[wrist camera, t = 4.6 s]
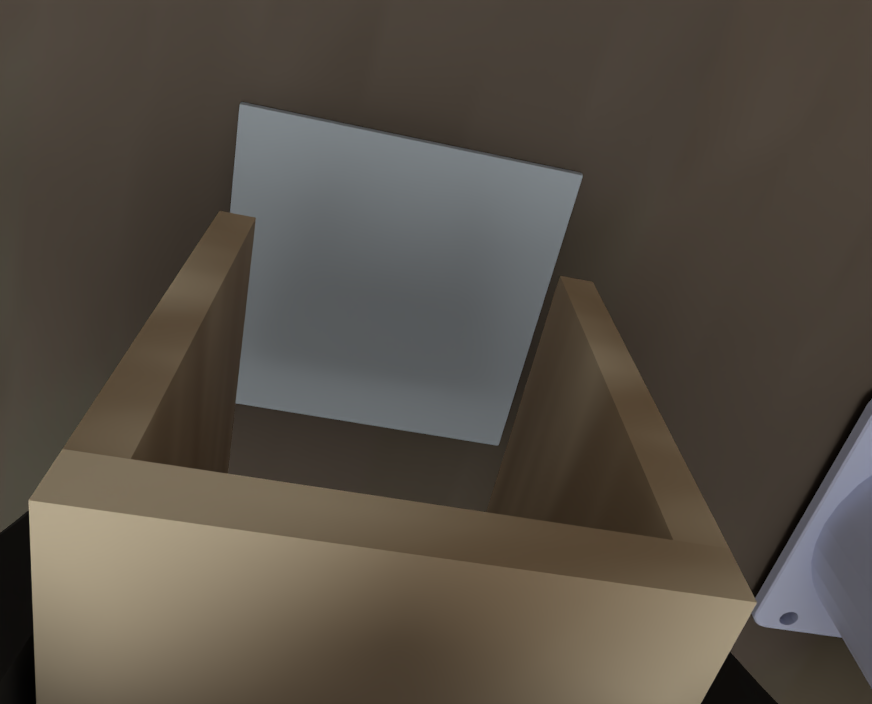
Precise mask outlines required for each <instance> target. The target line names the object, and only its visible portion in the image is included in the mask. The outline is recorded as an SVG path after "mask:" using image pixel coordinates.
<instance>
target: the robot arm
mask: <svg viewBox="0 0 872 704" xmlns="http://www.w3.org/2000/svg"><path fill="white" fill-rule="evenodd" d="M755 599H756V601H757V604H756V606H755V607H754V609H753V611H752V613H751V614H752V616H753V618H754V620H755V622H756V623H757V624H758V625H760V626H763V627H768V628H776V629H783V630H790V631H797V632H805V633H812V634H819V635H826V636H834V637H841V638H843V640H844V642H845V644H846V645H847V647H848V649H849V650H850V652H851V654H852V656H853V657H854V659H855V661H856V662H857V664H858V666H859V668H860V669H861V671H862V673H863V675H864V676H865V678H866V680H867V681H868V683H869V685H870V687H871V688H872V399H871V400H870V402H869V403H868V404H867V406H866V408H865V409H864V411H863V413H862V414H861V416H860V418H859V420H858V421H857V423H856V425H855V427H854V428H853V430H852V432H851V433H850V435H849V437H848V439H847V440H846V442H845V444H844V446H843V447H842V449H841V451H840V452H839V454H838V456H837V458H836V459H835V461H834V463H833V465H832V466H831V468H830V470H829V471H828V473H827V475H826V477H825V478H824V480H823V482H822V484H821V485H820V487H819V489H818V490H817V492H816V494H815V496H814V497H813V499H812V501H811V503H810V504H809V506H808V508H807V509H806V511H805V513H804V515H803V516H802V518H801V520H800V522H799V523H798V525H797V527H796V528H795V530H794V532H793V534H792V535H791V537H790V539H789V541H788V542H787V544H786V546H785V547H784V549H783V551H782V553H781V554H780V556H779V558H778V560H777V561H776V563H775V565H774V566H773V568H772V570H771V572H770V573H769V575H768V577H767V579H766V580H765V582H764V584H763V585H762V587H761V589H760V591H759V592H758V594H757V596H756V598H755ZM0 704H36V683H35V657H34V630H33V604H32V577H31V551H30V524H29V511H27V512H26V513H25V514H24V515H22V516H21V517H20V518H19V519H17V520H16V521H15V522H14V523H12V524H11V525H10V526H8V527H7V528H6V529H5V530H3V531H2V532H1V533H0ZM701 704H778V703H777V702H776V701H775V700H774V699H773V698H772V697H771V696H770V695H769V694H768V693H767V692H766V691H765V690H764V689H763V688H762V687H761V686H760V685H759V683H758V682H757V681H756V680H755V679H754V678H753V677H752V676H751V675H750V674H749V672H748V671H747V670H746V669H745V668H744V667H743V666H742V665H741V664H740V662H739V661H738V660H737V659H736V658H735V657H734V656H733V655H732V654H731V652H729V654H728V656H727V658H726V659H725V661H724V663H723V665H722V667H721V668H720V670H719V672H718V674H717V675H716V677H715V679H714V681H713V683H712V684H711V686H710V688H709V690H708V692H707V693H706V695H705V697H704V699H703V701H702V702H701Z"/></svg>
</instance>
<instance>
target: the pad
mask: <svg viewBox="0 0 872 704" xmlns="http://www.w3.org/2000/svg"><path fill="white" fill-rule="evenodd" d="M582 177H583V175H582V173H580V172H576V171H571V170H566V169H561V168H556V167H552V166H547V165H542V164H537V163H532V162H528V161H523V160H518V159H513V158H509V157H504V156H499V155H494V154H489V153H485V152H480V151H475V150H470V149H465V148H461V147H456V146H451V145H446V144H442V143H437V142H432V141H427V140H422V139H418V138H413V137H408V136H403V135H399V134H394V133H389V132H384V131H379V130H375V129H370V128H365V127H360V126H355V125H351V124H346V123H341V122H336V121H332V120H327V119H322V118H317V117H312V116H308V115H303V114H298V113H293V112H288V111H284V110H279V109H274V108H269V107H265V106H260V105H255V104H250V103H245V102H241V103H240V107H239V118H238V129H237V140H236V151H235V162H234V173H233V185H232V196H231V207H230V213H234V214H239V215H244V216H250V217H255V218H256V223H255V232H254V241H253V250H252V259H251V268H250V277H249V286H248V295H247V304H246V313H245V322H244V331H243V340H242V349H241V358H240V367H239V376H238V385H237V394H236V403H237V404H243V405H250V406H256V407H262V408H268V409H274V410H280V411H287V412H293V413H299V414H305V415H311V416H318V417H324V418H330V419H336V420H342V421H349V422H355V423H361V424H367V425H373V426H379V427H386V428H392V429H398V430H404V431H410V432H417V433H423V434H429V435H435V436H441V437H447V438H454V439H460V440H466V441H472V442H478V443H485V444H491V445H497V446H498V445H499V442H500V439H501V436H502V433H503V429H504V426H505V423H506V420H507V417H508V413H509V410H510V407H511V404H512V401H513V398H514V394H515V391H516V388H517V385H518V382H519V378H520V375H521V372H522V369H523V366H524V362H525V359H526V356H527V353H528V350H529V346H530V343H531V340H532V337H533V334H534V330H535V327H536V324H537V321H538V318H539V314H540V311H541V308H542V305H543V302H544V298H545V295H546V292H547V289H548V286H549V282H550V279H551V276H552V273H553V270H554V266H555V263H556V260H557V257H558V254H559V251H560V247H561V244H562V241H563V238H564V235H565V231H566V228H567V225H568V222H569V219H570V215H571V212H572V209H573V206H574V203H575V199H576V196H577V193H578V190H579V187H580V183H581V180H582Z"/></svg>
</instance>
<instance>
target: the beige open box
mask: <svg viewBox="0 0 872 704" xmlns="http://www.w3.org/2000/svg"><path fill="white" fill-rule="evenodd" d="M255 223H256V218H255V217H250V216H244V215H239V214H234V213H229V212H224V211H219V212H218V214H217V215H216V217H215V218H214V220H213V221H212V223H211V224H210V226H209V227H208V229H207V230H206V232H205V234H204V235H203V237H202V238H201V240H200V241H199V243H198V244H197V246H196V247H195V249H194V250H193V252H192V253H191V255H190V256H189V258H188V259H187V261H186V262H185V264H184V265H183V267H182V268H181V270H180V271H179V273H178V274H177V276H176V277H175V279H174V281H173V282H172V284H171V285H170V287H169V288H168V290H167V291H166V293H165V294H164V296H163V297H162V299H161V300H160V302H159V303H158V305H157V306H156V308H155V309H154V311H153V312H152V314H151V315H150V317H149V318H148V320H147V321H146V323H145V324H144V326H143V328H142V329H141V331H140V332H139V334H138V335H137V337H136V338H135V340H134V341H133V343H132V344H131V346H130V347H129V349H128V350H127V352H126V353H125V355H124V356H123V358H122V359H121V361H120V362H119V364H118V365H117V367H116V368H115V370H114V372H113V373H112V375H111V376H110V378H109V379H108V381H107V382H106V384H105V385H104V387H103V388H102V390H101V391H100V393H99V394H98V396H97V397H96V399H95V400H94V402H93V403H92V405H91V406H90V408H89V409H88V411H87V412H86V414H85V415H84V417H83V419H82V420H81V422H80V423H79V425H78V426H77V428H76V429H75V431H74V432H73V434H72V435H71V437H70V438H69V440H68V441H67V443H66V444H65V446H64V447H63V449H62V450H61V452H60V453H59V455H58V456H57V458H56V459H55V461H54V462H53V464H52V466H51V467H50V469H49V470H48V472H47V473H46V475H45V476H44V478H43V479H42V481H41V482H40V484H39V485H38V487H37V488H36V490H35V491H34V493H33V494H32V496H31V497H30V499H29V524H30V551H31V577H32V604H33V630H34V657H35V683H36V704H701V702H702V701H703V699H704V697H705V695H706V693H707V692H708V690H709V688H710V686H711V684H712V683H713V681H714V679H715V677H716V675H717V674H718V672H719V670H720V668H721V667H722V665H723V663H724V661H725V659H726V658H727V656H728V654H729V652H730V650H731V649H732V647H733V645H734V643H735V641H736V640H737V638H738V636H739V634H740V632H741V631H742V629H743V627H744V625H745V623H746V622H747V620H748V618H749V616H750V615H751V613H752V611H753V609H754V607H755V606H756V604H757V601H756V599H755V597H754V596H753V594H752V592H751V590H750V588H749V586H748V584H747V582H746V580H745V578H744V576H743V574H742V572H741V570H740V568H739V566H738V564H737V562H736V560H735V558H734V557H733V555H732V553H731V551H730V549H729V547H728V545H727V543H726V541H725V539H724V537H723V535H722V533H721V531H720V529H719V527H718V525H717V523H716V521H715V519H714V518H713V516H712V514H711V512H710V510H709V508H708V506H707V504H706V502H705V500H704V498H703V496H702V494H701V492H700V490H699V488H698V486H697V484H696V482H695V480H694V479H693V477H692V475H691V473H690V471H689V469H688V467H687V465H686V463H685V461H684V459H683V457H682V455H681V453H680V451H679V449H678V447H677V445H676V443H675V441H674V440H673V438H672V436H671V434H670V432H669V430H668V428H667V426H666V424H665V422H664V420H663V418H662V416H661V414H660V412H659V410H658V408H657V406H656V404H655V402H654V401H653V399H652V397H651V395H650V393H649V391H648V389H647V387H646V385H645V383H644V381H643V379H642V377H641V375H640V373H639V371H638V369H637V367H636V365H635V363H634V362H633V360H632V358H631V356H630V354H629V352H628V350H627V348H626V346H625V344H624V342H623V340H622V338H621V336H620V334H619V332H618V330H617V328H616V326H615V324H614V323H613V321H612V319H611V317H610V315H609V313H608V311H607V309H606V307H605V305H604V303H603V301H602V299H601V297H600V295H599V293H598V291H597V289H596V287H595V286H594V284H593V282H591V281H585V280H580V279H575V278H570V277H564V276H560V277H559V280H558V284H557V287H556V290H555V293H554V296H553V300H552V303H551V306H550V309H549V312H548V316H547V319H546V322H545V325H544V328H543V332H542V335H541V338H540V341H539V345H538V348H537V351H536V354H535V357H534V361H533V364H532V367H531V370H530V373H529V377H528V380H527V383H526V386H525V389H524V393H523V396H522V399H521V402H520V405H519V409H518V412H517V415H516V418H515V421H514V425H513V428H512V431H511V434H510V437H509V441H508V444H507V447H506V450H505V454H504V457H503V460H502V463H501V466H500V470H499V473H498V476H497V479H496V482H495V486H494V489H493V492H492V495H491V498H490V502H489V505H488V508H487V511H486V512H481V511H475V510H468V509H461V508H455V507H448V506H441V505H435V504H428V503H421V502H414V501H408V500H401V499H394V498H388V497H381V496H374V495H368V494H361V493H354V492H347V491H341V490H334V489H327V488H321V487H314V486H307V485H300V484H294V483H287V482H280V481H274V480H267V479H260V478H254V477H247V476H240V475H233V474H228V466H229V457H230V448H231V439H232V430H233V421H234V412H235V403H236V394H237V385H238V376H239V367H240V358H241V349H242V340H243V331H244V322H245V313H246V304H247V295H248V286H249V277H250V268H251V259H252V250H253V241H254V232H255Z"/></svg>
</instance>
